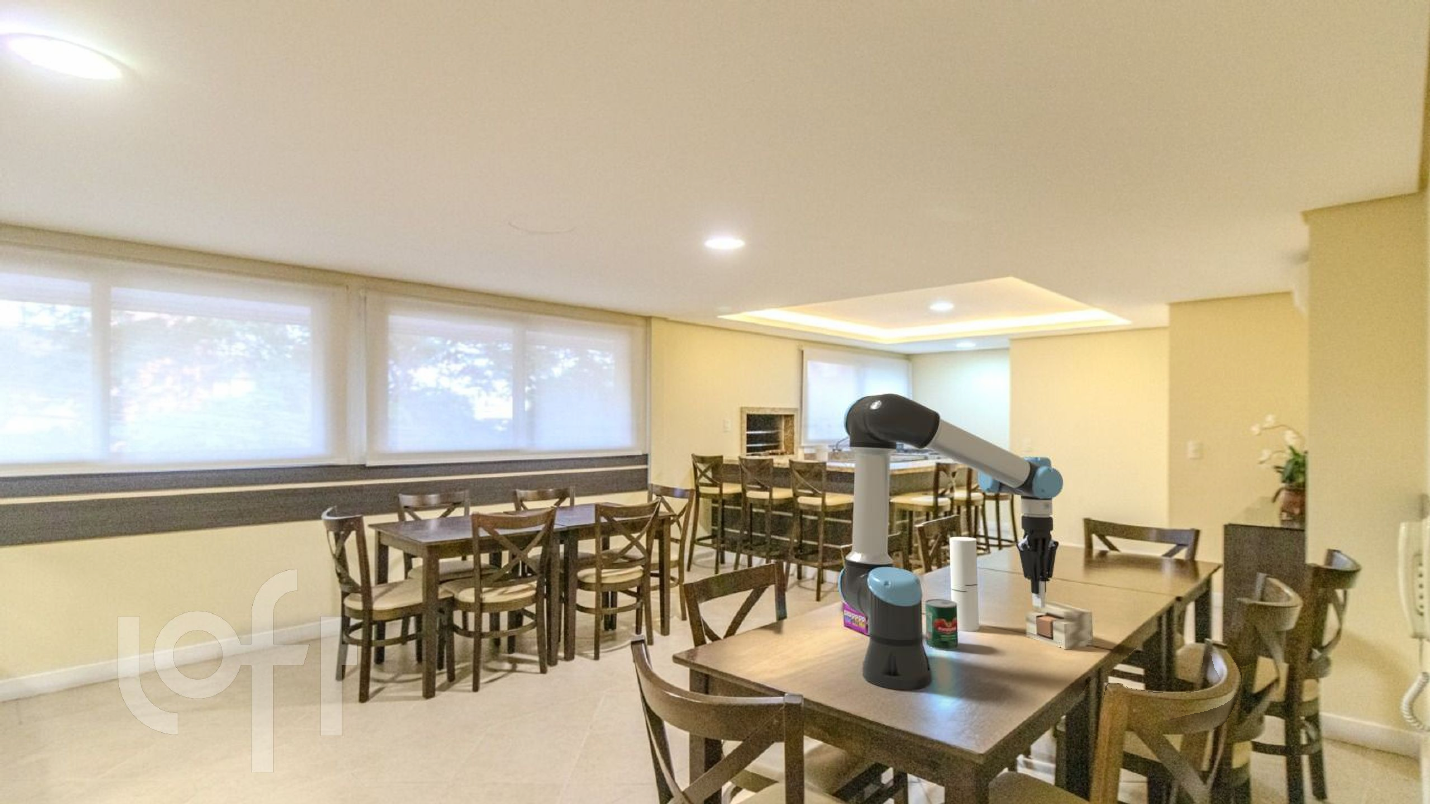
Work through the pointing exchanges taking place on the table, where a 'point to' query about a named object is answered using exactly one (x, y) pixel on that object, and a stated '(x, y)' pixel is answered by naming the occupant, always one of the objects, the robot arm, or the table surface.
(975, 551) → the cylindrical container
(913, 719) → the table surface
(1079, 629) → the sleeve
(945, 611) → the canned tomato
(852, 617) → the candy bar box
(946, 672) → the table surface
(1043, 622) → the peg
